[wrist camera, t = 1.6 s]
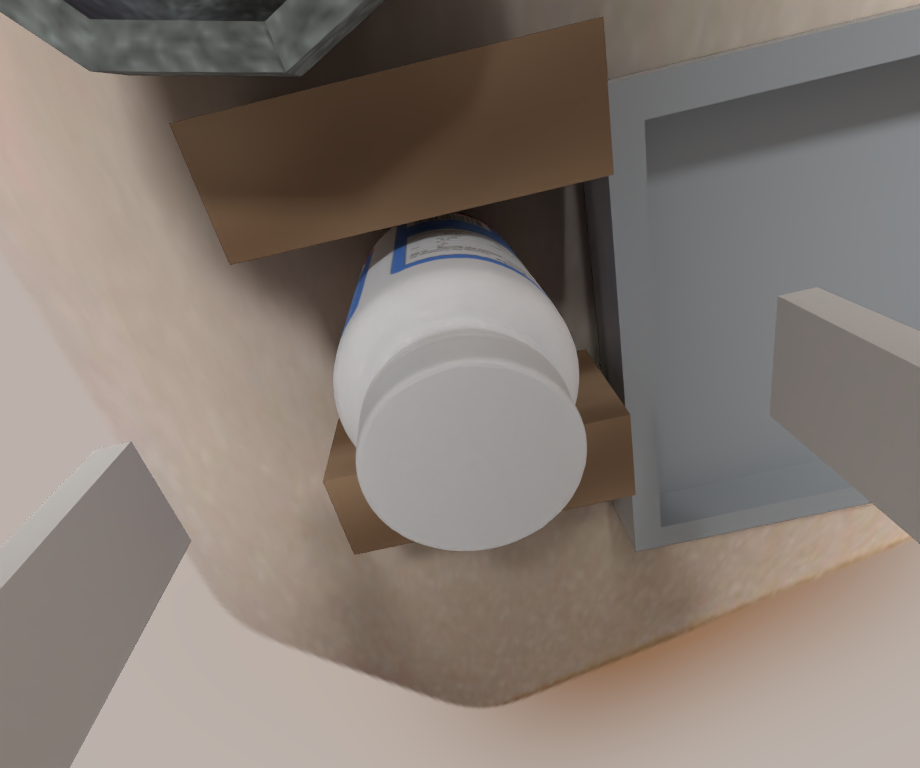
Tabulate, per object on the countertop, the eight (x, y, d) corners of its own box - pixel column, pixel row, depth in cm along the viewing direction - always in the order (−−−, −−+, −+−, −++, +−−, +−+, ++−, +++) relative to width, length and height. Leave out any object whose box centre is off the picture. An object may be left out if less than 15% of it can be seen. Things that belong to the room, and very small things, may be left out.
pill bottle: (437, 393, 19) (454, 624, 11) (325, 289, 17) (233, 472, 9) (555, 294, 18) (684, 471, 9) (448, 168, 16) (487, 243, 7)
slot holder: (236, 118, 15) (169, 122, 11) (551, 40, 14) (603, 16, 10) (366, 468, 21) (354, 554, 17) (593, 418, 20) (635, 494, 16)
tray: (575, 87, 15) (601, 84, 13) (1076, -34, 14) (1194, -59, 12) (614, 508, 23) (636, 551, 20) (945, 438, 22) (1003, 475, 20)
